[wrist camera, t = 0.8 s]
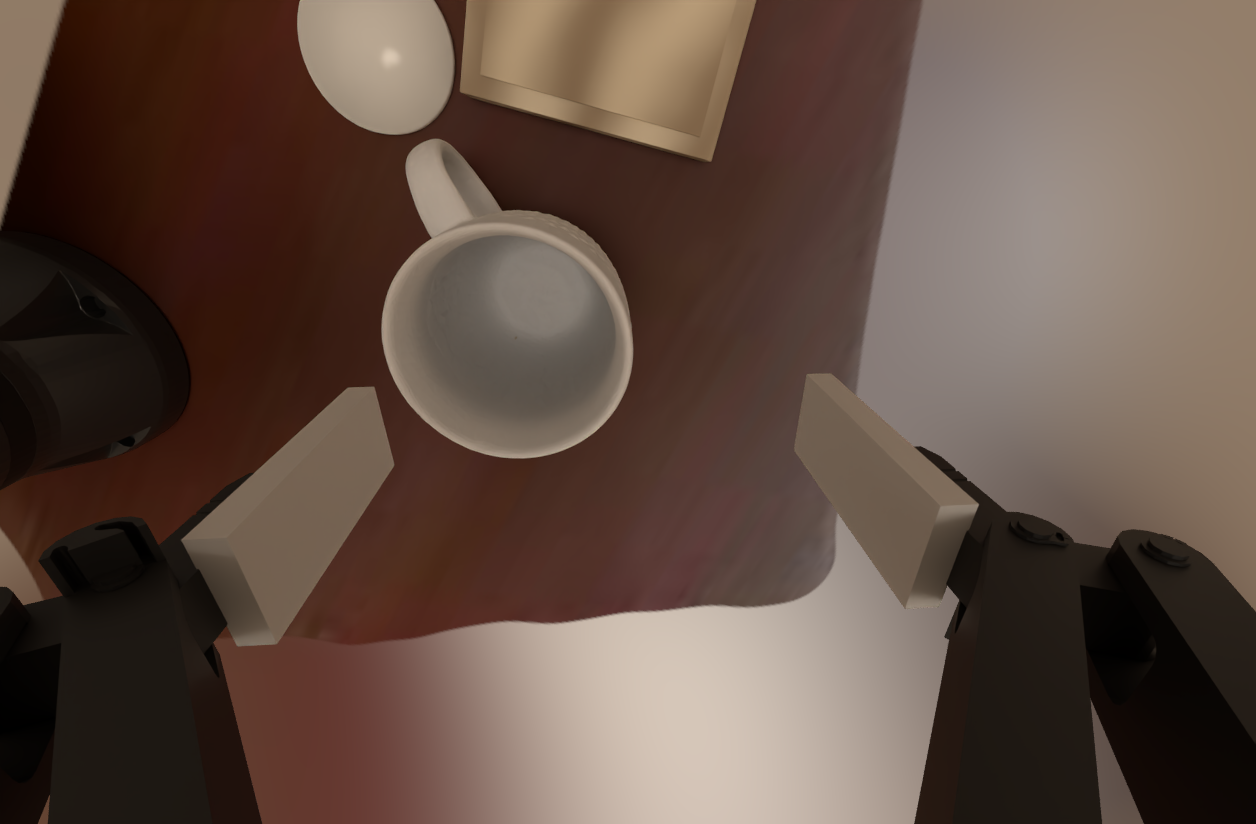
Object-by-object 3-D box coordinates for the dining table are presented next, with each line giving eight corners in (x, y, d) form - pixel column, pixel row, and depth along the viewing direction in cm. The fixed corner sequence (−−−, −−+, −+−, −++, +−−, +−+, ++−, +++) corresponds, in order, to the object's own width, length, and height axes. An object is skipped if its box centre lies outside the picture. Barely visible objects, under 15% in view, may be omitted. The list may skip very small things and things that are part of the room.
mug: (385, 194, 30) (247, 212, 19) (538, 98, 28) (492, 51, 17) (518, 389, 37) (478, 495, 25) (652, 321, 35) (676, 400, 23)
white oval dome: (310, 114, 29) (301, 112, 28) (304, -62, 25) (293, -70, 24) (451, 150, 30) (446, 150, 29) (463, -14, 26) (458, -21, 26)
